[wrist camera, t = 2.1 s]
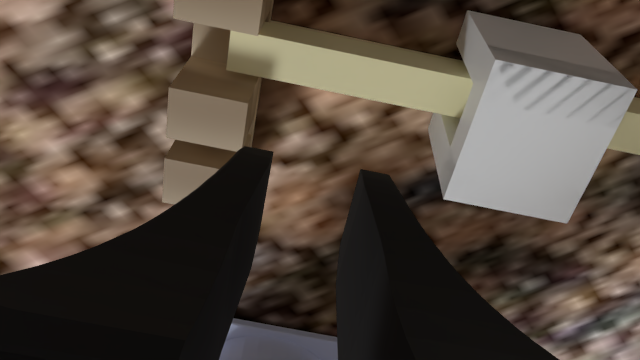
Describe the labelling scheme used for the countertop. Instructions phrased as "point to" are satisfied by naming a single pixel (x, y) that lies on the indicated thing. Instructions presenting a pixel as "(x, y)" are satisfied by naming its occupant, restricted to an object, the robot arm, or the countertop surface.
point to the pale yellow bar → (373, 72)
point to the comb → (210, 94)
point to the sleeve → (528, 118)
